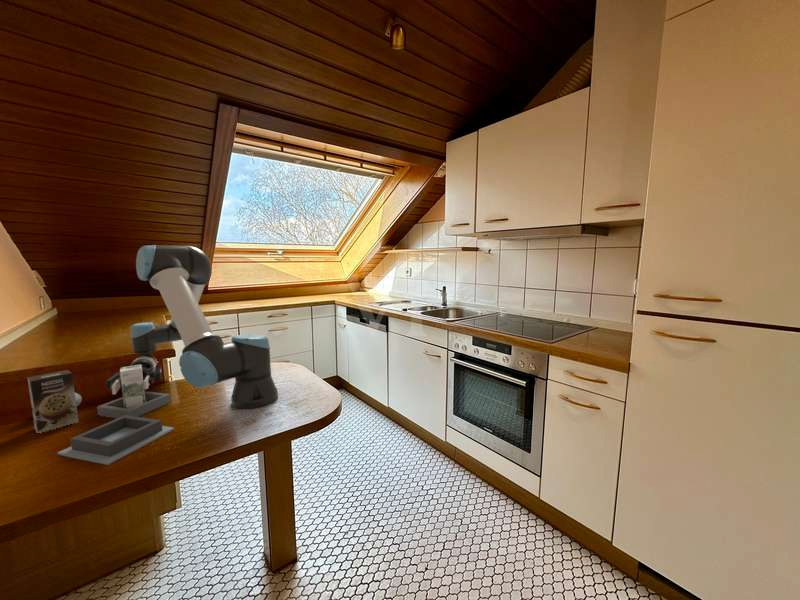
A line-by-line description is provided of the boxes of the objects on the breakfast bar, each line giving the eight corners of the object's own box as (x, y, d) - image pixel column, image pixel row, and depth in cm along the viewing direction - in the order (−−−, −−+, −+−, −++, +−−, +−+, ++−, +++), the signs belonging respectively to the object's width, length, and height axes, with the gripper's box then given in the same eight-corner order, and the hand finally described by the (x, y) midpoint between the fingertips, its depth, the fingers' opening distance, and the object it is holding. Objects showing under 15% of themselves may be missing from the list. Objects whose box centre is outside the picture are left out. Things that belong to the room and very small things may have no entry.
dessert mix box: (37, 434, 100) (29, 381, 98) (34, 428, 104) (25, 377, 102) (79, 422, 108) (72, 372, 106) (75, 417, 111) (67, 368, 109)
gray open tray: (170, 402, 121) (169, 394, 121) (129, 420, 108) (128, 411, 108) (141, 398, 125) (140, 390, 125) (98, 415, 112) (96, 406, 112)
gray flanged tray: (174, 429, 102) (172, 417, 101) (107, 465, 85) (105, 451, 84) (129, 422, 107) (127, 411, 106) (57, 454, 90) (55, 441, 89)
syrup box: (146, 403, 121) (141, 363, 119) (146, 409, 116) (141, 367, 114) (125, 408, 118) (120, 366, 116) (124, 414, 113) (119, 371, 111)
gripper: (175, 373, 137) (168, 392, 117) (108, 383, 127) (90, 405, 107) (173, 354, 136) (166, 370, 116) (106, 363, 126) (86, 382, 106)
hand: (129, 387), depth 111 cm, fingers open, 8 cm apart
